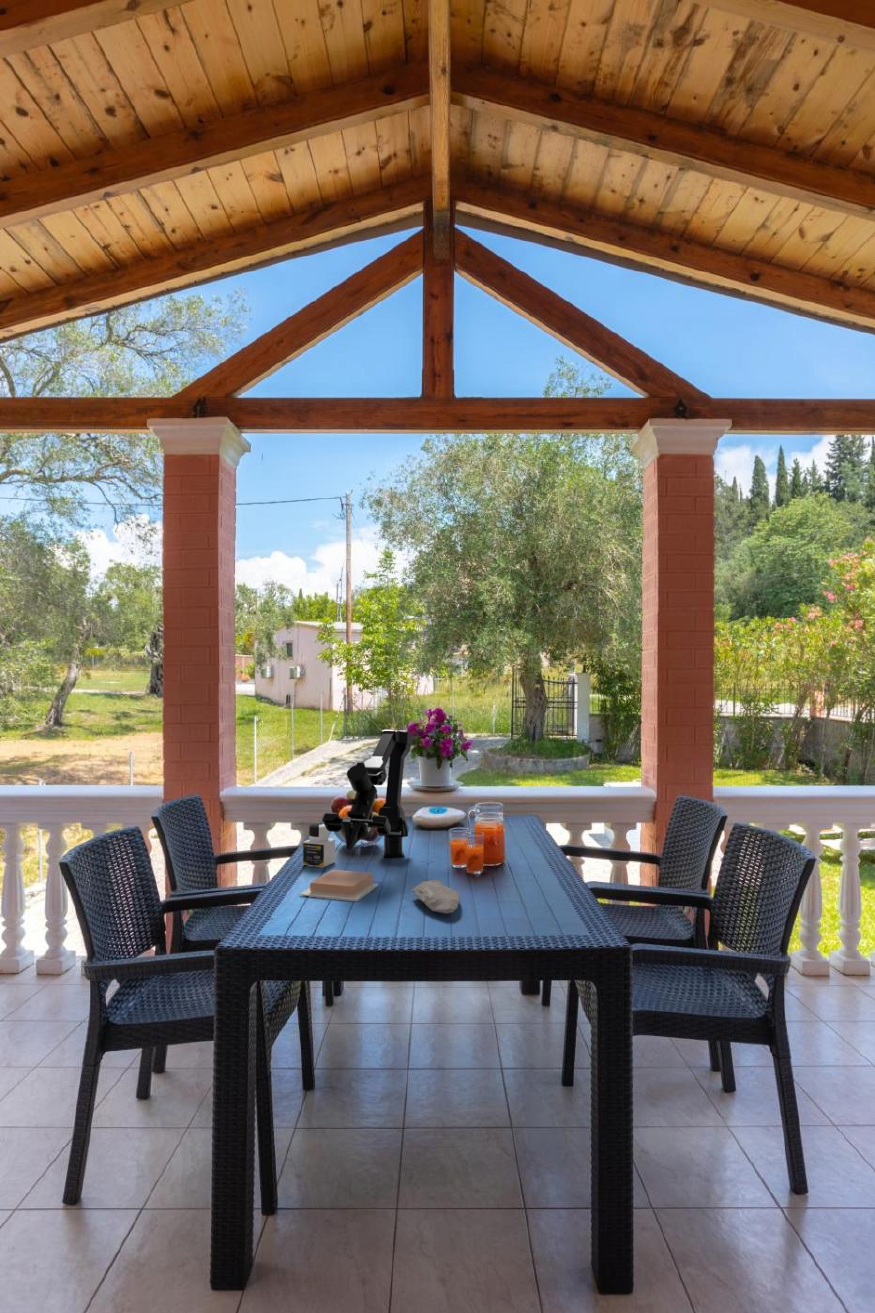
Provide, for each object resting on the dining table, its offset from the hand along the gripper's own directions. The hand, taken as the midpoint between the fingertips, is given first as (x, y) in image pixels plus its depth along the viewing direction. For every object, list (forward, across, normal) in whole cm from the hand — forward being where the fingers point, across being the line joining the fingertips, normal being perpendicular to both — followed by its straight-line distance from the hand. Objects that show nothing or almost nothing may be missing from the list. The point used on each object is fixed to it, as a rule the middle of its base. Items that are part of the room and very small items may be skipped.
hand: (348, 849), depth 223 cm
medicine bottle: (-7, +17, -21) cm, 28 cm away
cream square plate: (+11, 0, -3) cm, 11 cm away
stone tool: (+14, -28, 0) cm, 32 cm away
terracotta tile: (+4, 0, -7) cm, 8 cm away
